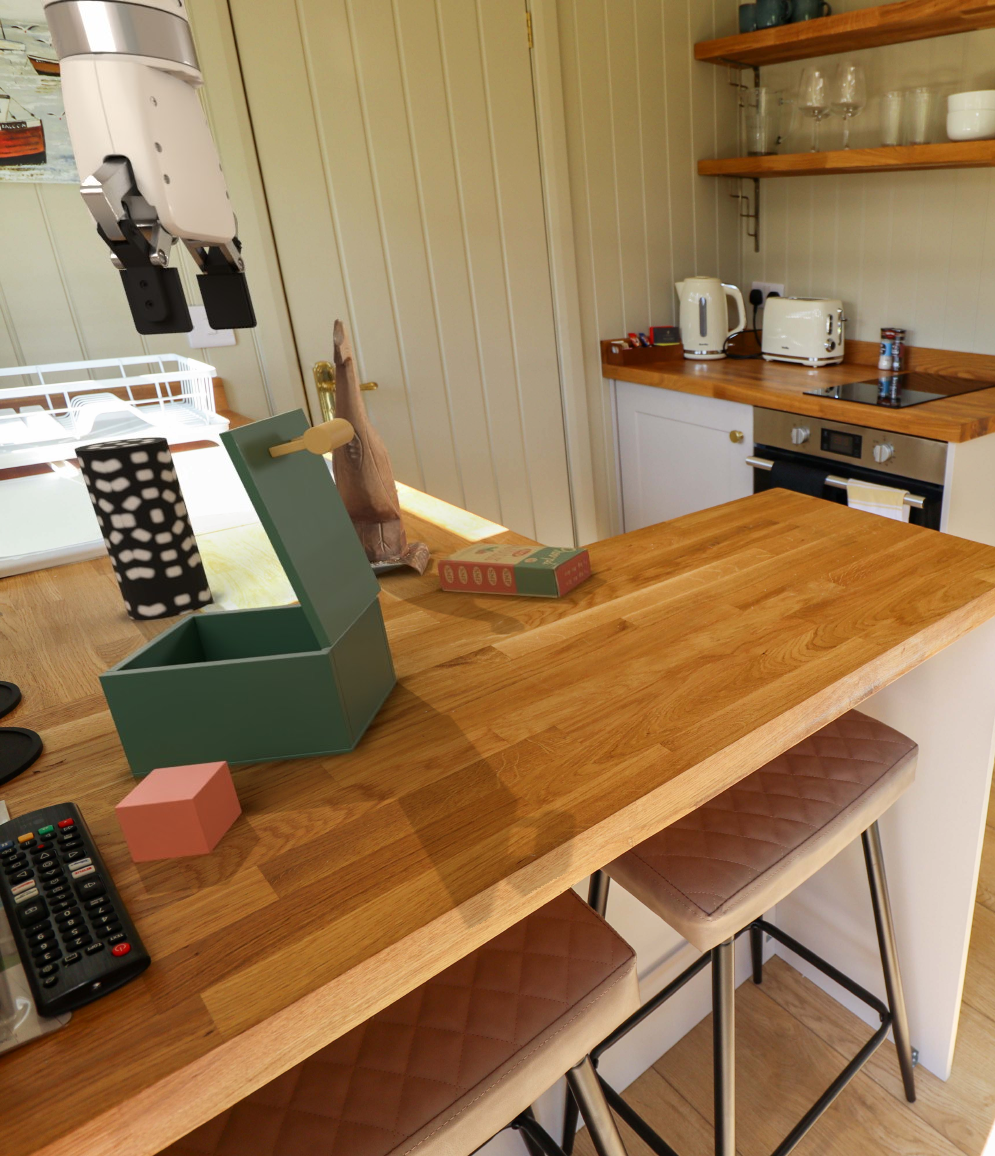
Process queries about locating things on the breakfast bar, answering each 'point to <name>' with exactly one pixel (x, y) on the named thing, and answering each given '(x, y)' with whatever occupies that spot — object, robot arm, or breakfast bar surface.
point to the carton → (515, 570)
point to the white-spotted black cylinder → (145, 526)
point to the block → (179, 811)
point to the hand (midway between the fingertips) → (203, 331)
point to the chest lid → (306, 515)
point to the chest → (248, 689)
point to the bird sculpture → (368, 472)
